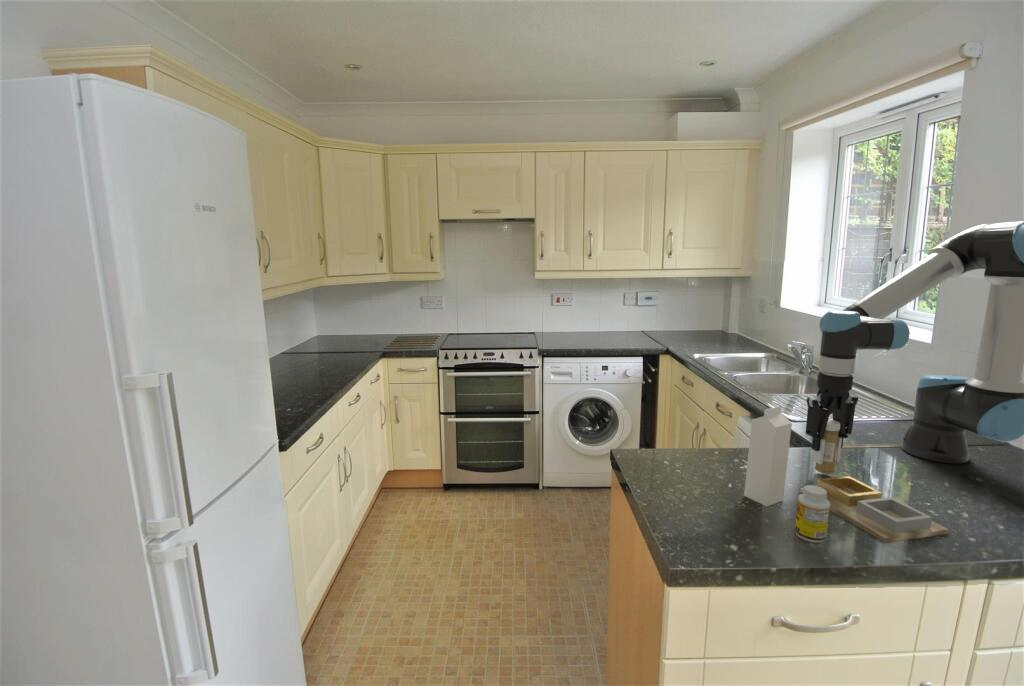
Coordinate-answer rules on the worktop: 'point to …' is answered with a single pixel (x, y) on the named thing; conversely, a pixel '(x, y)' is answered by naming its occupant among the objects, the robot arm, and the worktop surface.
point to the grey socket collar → (909, 523)
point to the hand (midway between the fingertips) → (825, 460)
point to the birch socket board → (875, 528)
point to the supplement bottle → (812, 514)
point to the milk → (768, 457)
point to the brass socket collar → (845, 498)
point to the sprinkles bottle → (829, 448)
